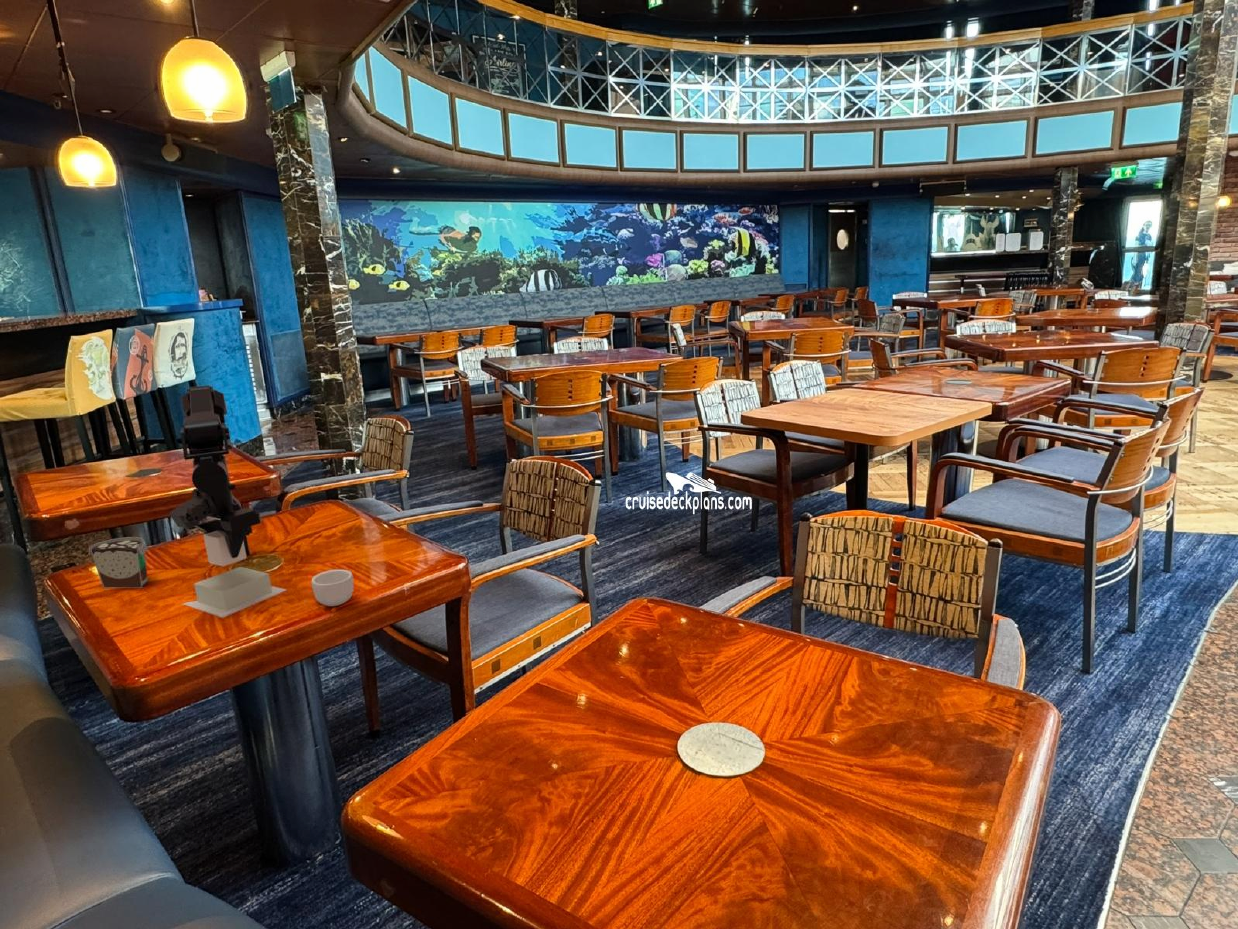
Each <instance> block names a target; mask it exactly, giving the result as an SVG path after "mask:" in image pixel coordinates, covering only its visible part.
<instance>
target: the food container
mask: <svg viewBox="0 0 1238 929" xmlns="http://www.w3.org/2000/svg"><path fill="white" fill-rule="evenodd" d="M148 549H149V548H148V546H147V544H146V541H145V540H144V539H143V538H142V537H138V536H137V537H135V536H126V537H118V538H117V537H116V538H111V539H108V540H107V539H106V540H103V541H100V542H97V543H94V544H91V545H89V548H88V555H89V556H92V558H93V559H92V560H93V562H94V565H95V567H96V571H97V574H98V576H99V579H100V582H101V585H102V588H106V589H107V588H108V589H111V588H112V589H113V588H115V589H116V588H117V589H121V588H125V589H126V588H128V589H129V588H130V587H131V588H130V589H132V588H135V589H140V588H141V589H142V588H144V587H145V585H146V586H147V585H148V584H149V579H148V571H147V560H146V552H147V551H148Z"/></svg>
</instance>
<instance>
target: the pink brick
mask: <svg viewBox="0 0 1238 929" xmlns="http://www.w3.org/2000/svg"><path fill="white" fill-rule="evenodd" d="M203 540H204V545H205V549H206V550H205V551H206V554H207V560H208V563H209V564H212V565H215V566H219V567H226V566H229V565H233V564H234V563H238V562H240V561H242V560H243V561H244V560H246V559H247V556H246V552H245V547H244V541H243V543H242V546H241V549H240V552H239V555H238V557H236V558H232V557H231V554H230V551H229V548H228V545H227V542H226V539H225V536H224V535H223V534H221V533H220V532H218V531H214V532H211V533H208V534H205V533H204V534H203Z"/></svg>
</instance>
